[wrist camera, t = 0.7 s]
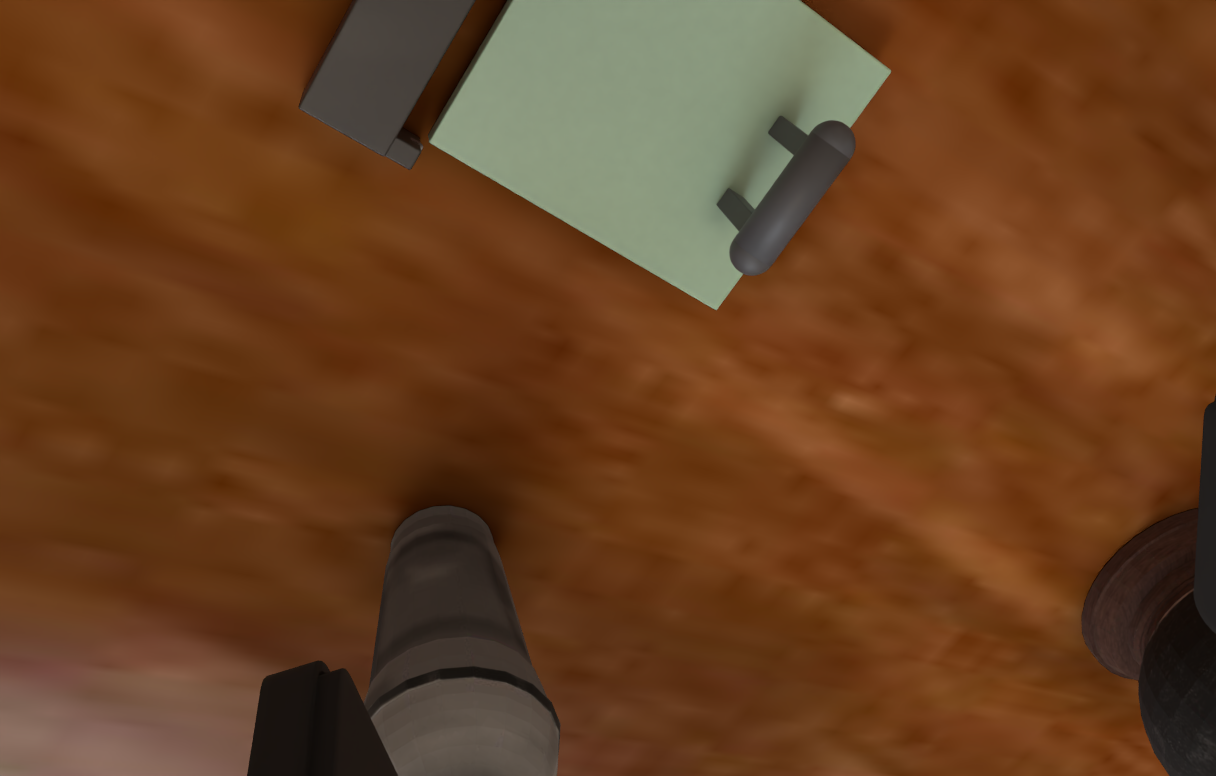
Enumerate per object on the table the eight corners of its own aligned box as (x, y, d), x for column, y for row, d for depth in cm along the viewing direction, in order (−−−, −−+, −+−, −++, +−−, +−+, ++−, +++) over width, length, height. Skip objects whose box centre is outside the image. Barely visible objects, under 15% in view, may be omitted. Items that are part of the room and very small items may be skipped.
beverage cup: (402, 454, 44) (412, 871, 27) (553, 511, 47) (651, 922, 29) (330, 583, 46) (297, 1041, 29) (478, 630, 49) (527, 1074, 32)
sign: (427, 134, 37) (433, 184, 32) (596, -153, 34) (633, -148, 29) (709, 300, 43) (752, 365, 38) (880, 65, 39) (953, 102, 34)
